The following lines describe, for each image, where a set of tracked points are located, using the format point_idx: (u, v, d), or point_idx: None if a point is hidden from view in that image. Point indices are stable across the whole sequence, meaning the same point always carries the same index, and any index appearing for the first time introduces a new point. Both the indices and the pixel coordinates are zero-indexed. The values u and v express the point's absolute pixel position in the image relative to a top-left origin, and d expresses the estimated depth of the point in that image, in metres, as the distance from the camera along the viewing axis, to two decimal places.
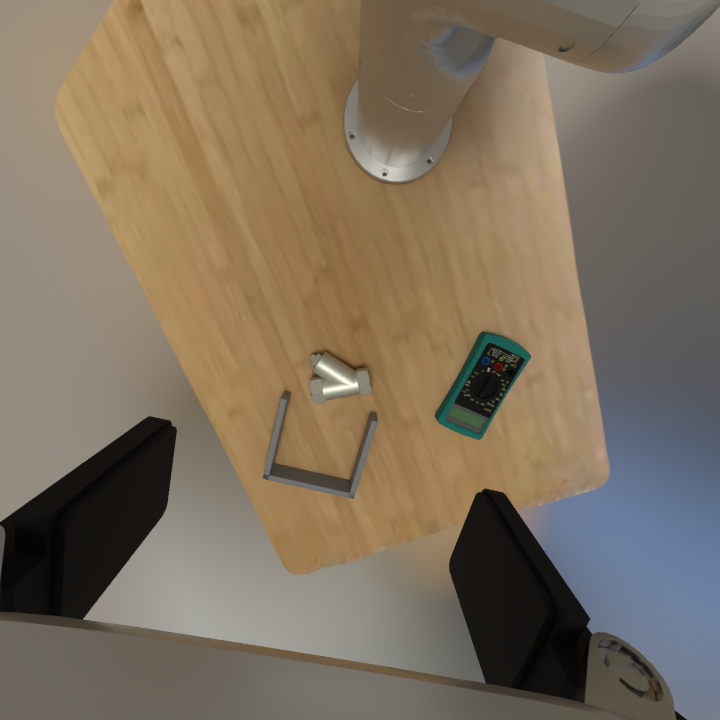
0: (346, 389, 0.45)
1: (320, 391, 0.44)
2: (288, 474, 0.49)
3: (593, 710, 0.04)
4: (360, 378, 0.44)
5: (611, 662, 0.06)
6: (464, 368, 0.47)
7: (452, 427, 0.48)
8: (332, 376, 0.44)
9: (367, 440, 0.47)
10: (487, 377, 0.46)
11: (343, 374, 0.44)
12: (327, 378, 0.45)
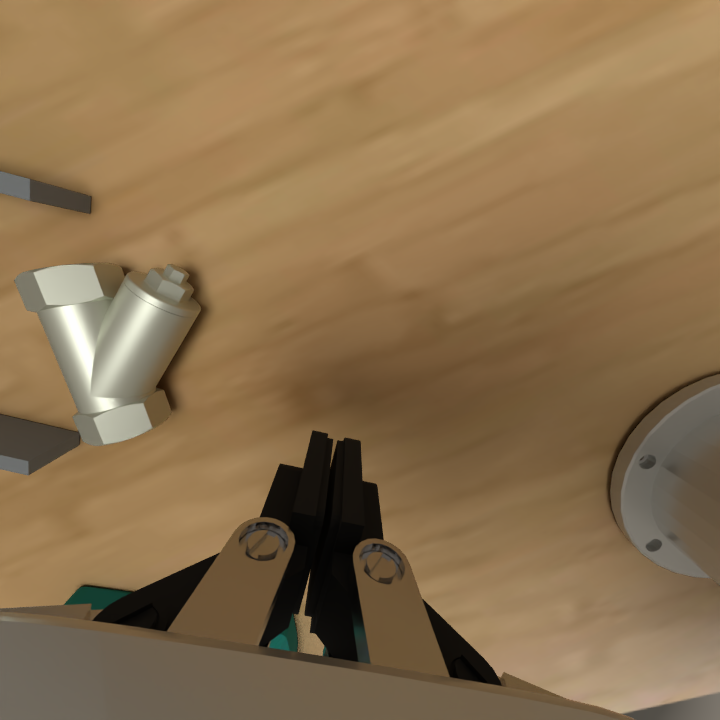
0: (77, 379, 0.15)
1: (52, 300, 0.14)
2: None
3: (593, 710, 0.04)
4: (120, 416, 0.15)
5: (370, 567, 0.07)
6: None
7: None
8: (113, 338, 0.14)
9: None
10: None
11: (126, 368, 0.15)
12: (106, 321, 0.15)
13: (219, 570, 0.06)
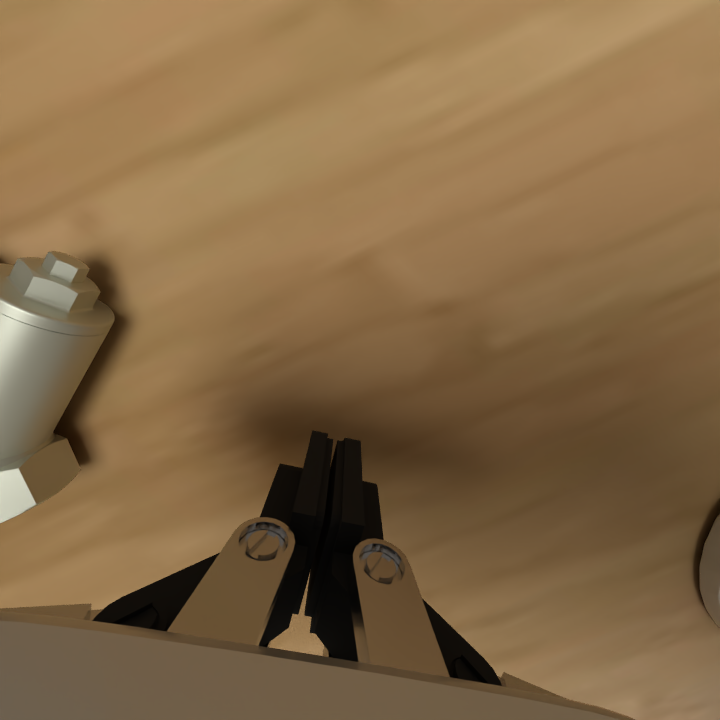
0: None
1: None
2: None
3: (593, 710, 0.04)
4: None
5: (370, 567, 0.07)
6: None
7: None
8: None
9: None
10: None
11: None
12: None
13: (219, 570, 0.06)
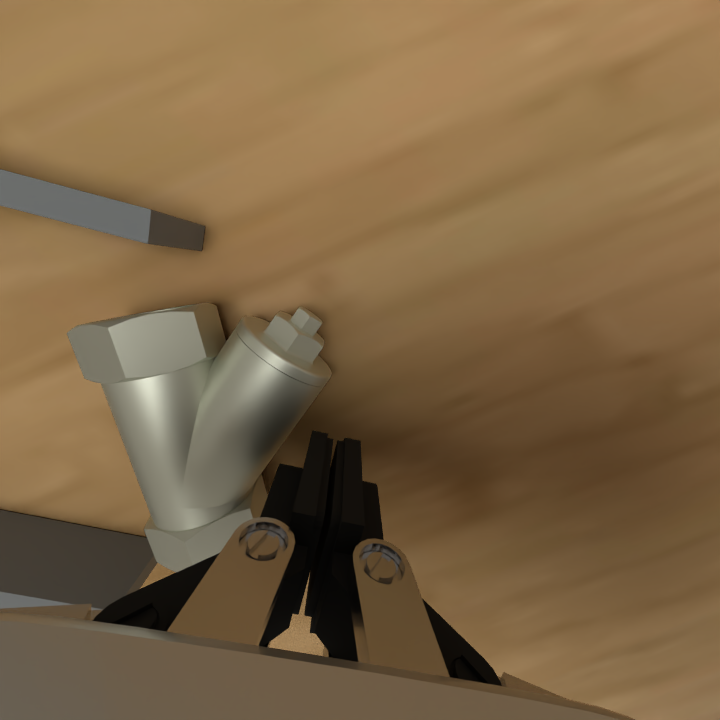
0: (161, 483, 0.10)
1: (134, 370, 0.09)
2: None
3: (593, 710, 0.04)
4: (220, 532, 0.10)
5: (370, 567, 0.07)
6: None
7: None
8: (223, 424, 0.09)
9: (16, 599, 0.11)
10: None
11: (236, 466, 0.10)
12: (210, 396, 0.09)
13: (219, 570, 0.06)
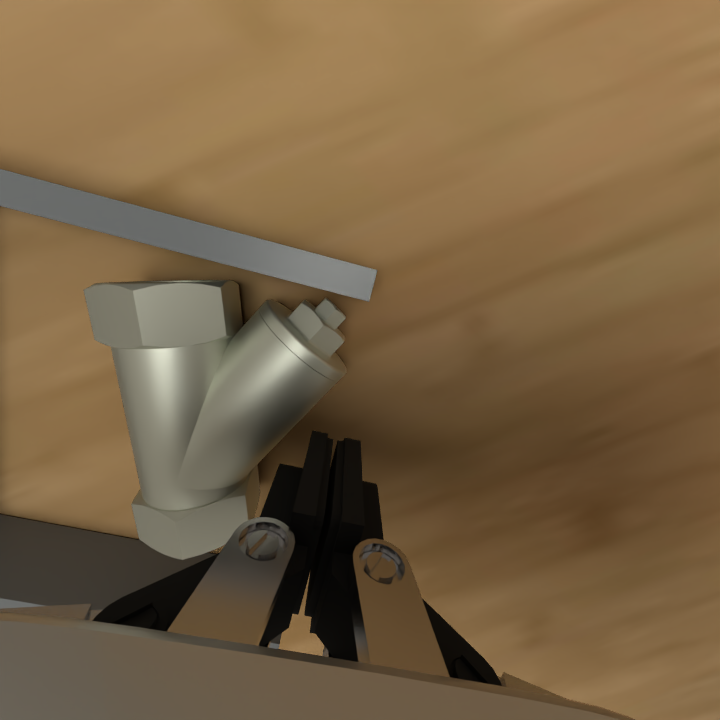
0: (160, 459, 0.09)
1: (152, 338, 0.08)
2: None
3: (593, 710, 0.04)
4: (212, 517, 0.10)
5: (370, 567, 0.07)
6: None
7: None
8: (235, 406, 0.09)
9: None
10: None
11: (240, 450, 0.10)
12: (225, 375, 0.09)
13: (219, 570, 0.06)
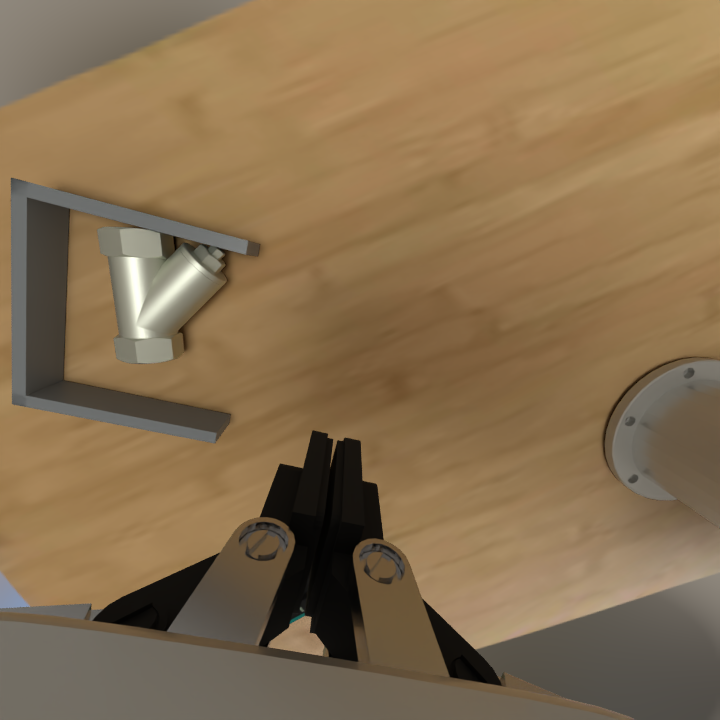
0: (128, 311, 0.20)
1: (127, 251, 0.19)
2: (42, 246, 0.20)
3: (593, 710, 0.04)
4: (153, 345, 0.21)
5: (370, 567, 0.07)
6: None
7: None
8: (164, 288, 0.20)
9: (169, 426, 0.22)
10: None
11: (167, 311, 0.20)
12: (160, 274, 0.20)
13: (219, 570, 0.06)
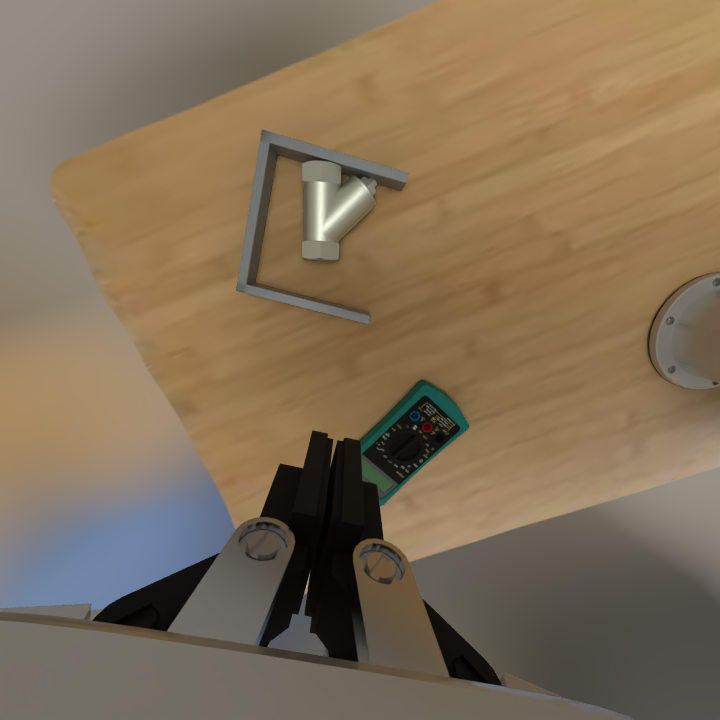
0: (317, 220, 0.29)
1: (323, 177, 0.28)
2: (267, 179, 0.30)
3: (593, 710, 0.04)
4: (329, 246, 0.30)
5: (370, 567, 0.07)
6: (388, 416, 0.37)
7: None
8: (342, 204, 0.29)
9: (338, 310, 0.32)
10: (411, 435, 0.37)
11: (341, 221, 0.30)
12: (339, 195, 0.29)
13: (219, 570, 0.06)
